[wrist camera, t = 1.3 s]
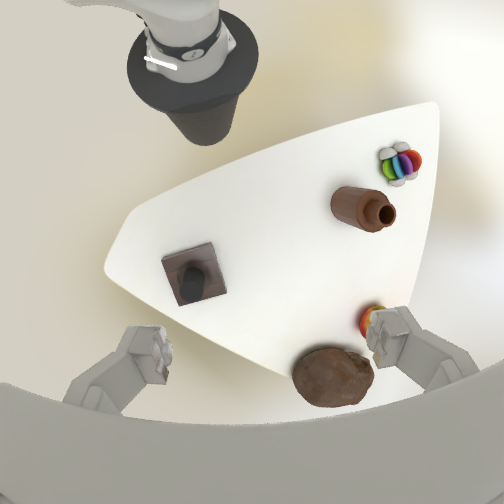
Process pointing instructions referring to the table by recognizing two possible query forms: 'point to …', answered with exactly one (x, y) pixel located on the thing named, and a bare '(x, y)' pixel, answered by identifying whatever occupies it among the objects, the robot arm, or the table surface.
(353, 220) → the bottle
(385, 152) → the rainbow disc toy
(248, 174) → the table surface
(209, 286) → the dark brown square mat
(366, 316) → the apple
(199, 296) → the cylinder
